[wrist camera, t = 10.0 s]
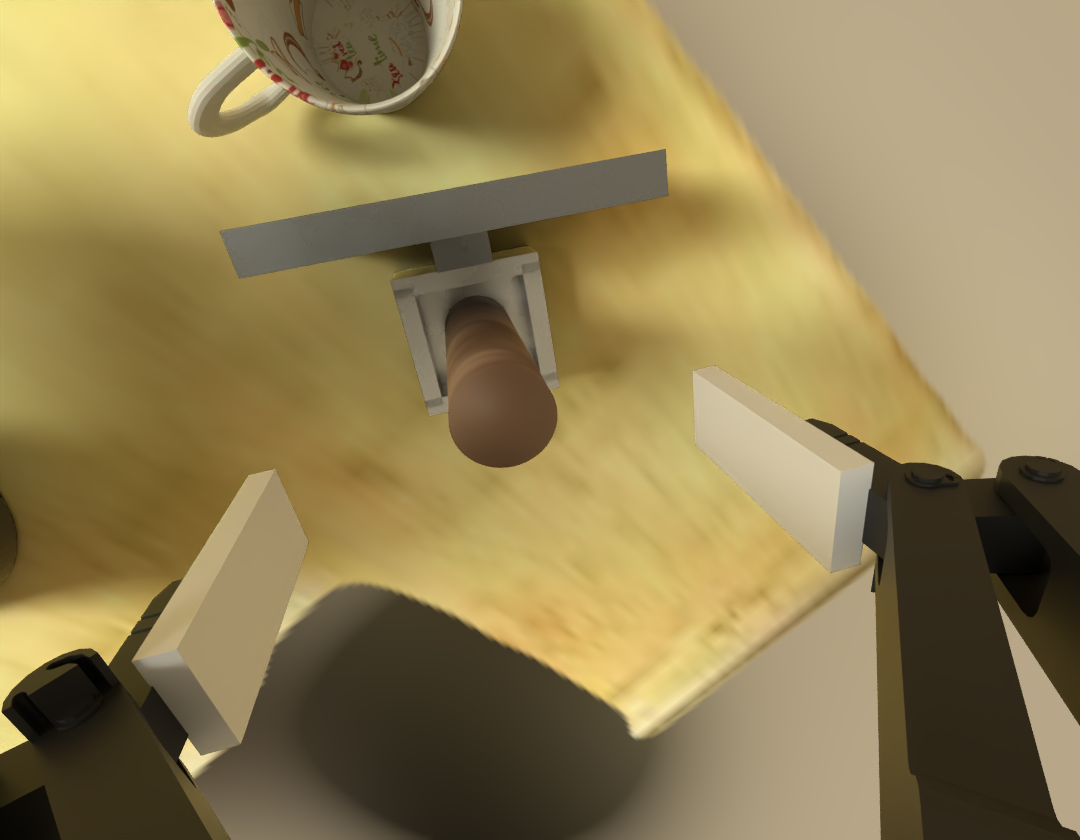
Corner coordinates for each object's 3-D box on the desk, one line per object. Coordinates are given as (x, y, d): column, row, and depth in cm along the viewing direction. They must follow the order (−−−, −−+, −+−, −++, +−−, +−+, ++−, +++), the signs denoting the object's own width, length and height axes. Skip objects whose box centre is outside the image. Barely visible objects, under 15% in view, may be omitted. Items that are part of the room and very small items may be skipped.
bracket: (369, 408, 33) (335, 512, 23) (303, 216, 28) (219, 231, 17) (605, 356, 35) (680, 430, 24) (583, 164, 30) (665, 149, 19)
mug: (488, 72, 27) (512, 14, 18) (307, 220, 28) (246, 234, 19) (378, -108, 24) (340, -292, 15) (176, 70, 25) (28, 2, 16)
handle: (453, 365, 32) (462, 478, 20) (437, 302, 30) (436, 381, 18) (515, 352, 32) (564, 454, 20) (503, 289, 31) (548, 357, 18)
